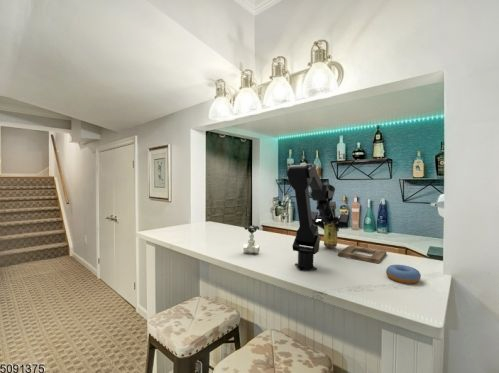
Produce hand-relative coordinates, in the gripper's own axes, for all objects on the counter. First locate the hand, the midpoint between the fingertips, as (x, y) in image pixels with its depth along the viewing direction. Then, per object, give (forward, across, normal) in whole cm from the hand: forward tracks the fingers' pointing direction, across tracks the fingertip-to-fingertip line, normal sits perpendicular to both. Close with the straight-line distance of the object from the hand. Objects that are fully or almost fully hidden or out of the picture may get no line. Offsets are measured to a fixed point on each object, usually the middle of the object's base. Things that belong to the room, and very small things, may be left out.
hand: (331, 229), depth 124 cm
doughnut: (-11, -31, +25) cm, 41 cm away
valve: (-15, +26, +28) cm, 41 cm away
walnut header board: (+3, -15, +9) cm, 18 cm away
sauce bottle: (+5, 0, +6) cm, 8 cm away
